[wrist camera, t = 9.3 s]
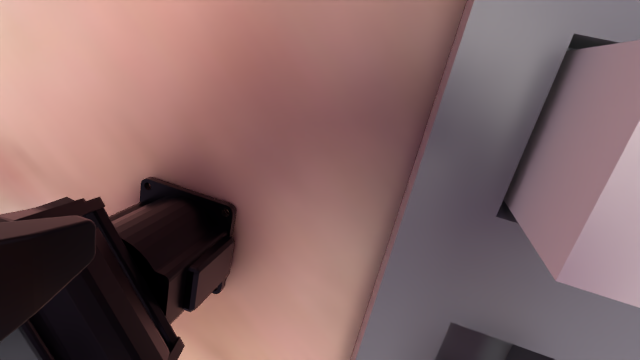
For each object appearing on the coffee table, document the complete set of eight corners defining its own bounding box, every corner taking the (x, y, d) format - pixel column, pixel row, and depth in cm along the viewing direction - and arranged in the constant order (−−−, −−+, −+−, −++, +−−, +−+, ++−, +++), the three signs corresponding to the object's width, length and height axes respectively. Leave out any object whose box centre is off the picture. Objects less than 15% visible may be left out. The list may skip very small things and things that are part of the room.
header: (345, 373, 24) (329, 437, 20) (478, -36, 16) (499, -75, 12) (520, 444, 22) (544, 531, 18) (772, 16, 14) (923, -8, 10)
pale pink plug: (494, 185, 17) (555, 281, 9) (548, 53, 15) (684, 33, 7) (573, 207, 17) (711, 330, 9) (640, 73, 15) (899, 73, 7)
